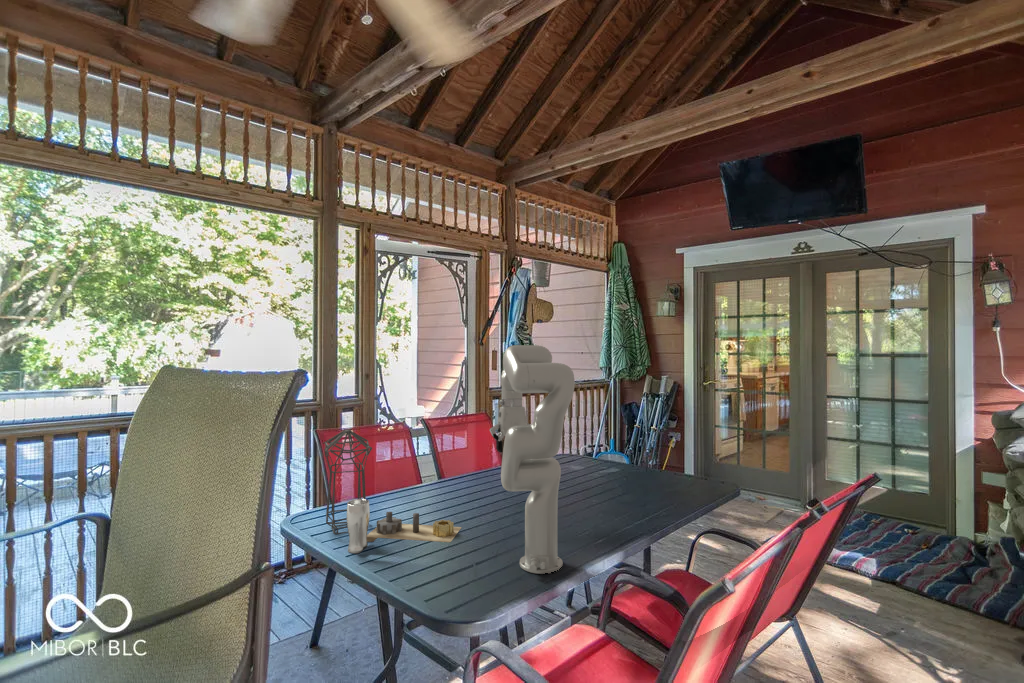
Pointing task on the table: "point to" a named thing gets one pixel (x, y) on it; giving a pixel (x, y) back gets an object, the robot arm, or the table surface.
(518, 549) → the table surface
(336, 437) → the geometric lantern
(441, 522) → the brass gear
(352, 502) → the beer glass
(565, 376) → the robot arm
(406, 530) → the gear board
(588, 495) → the table surface
